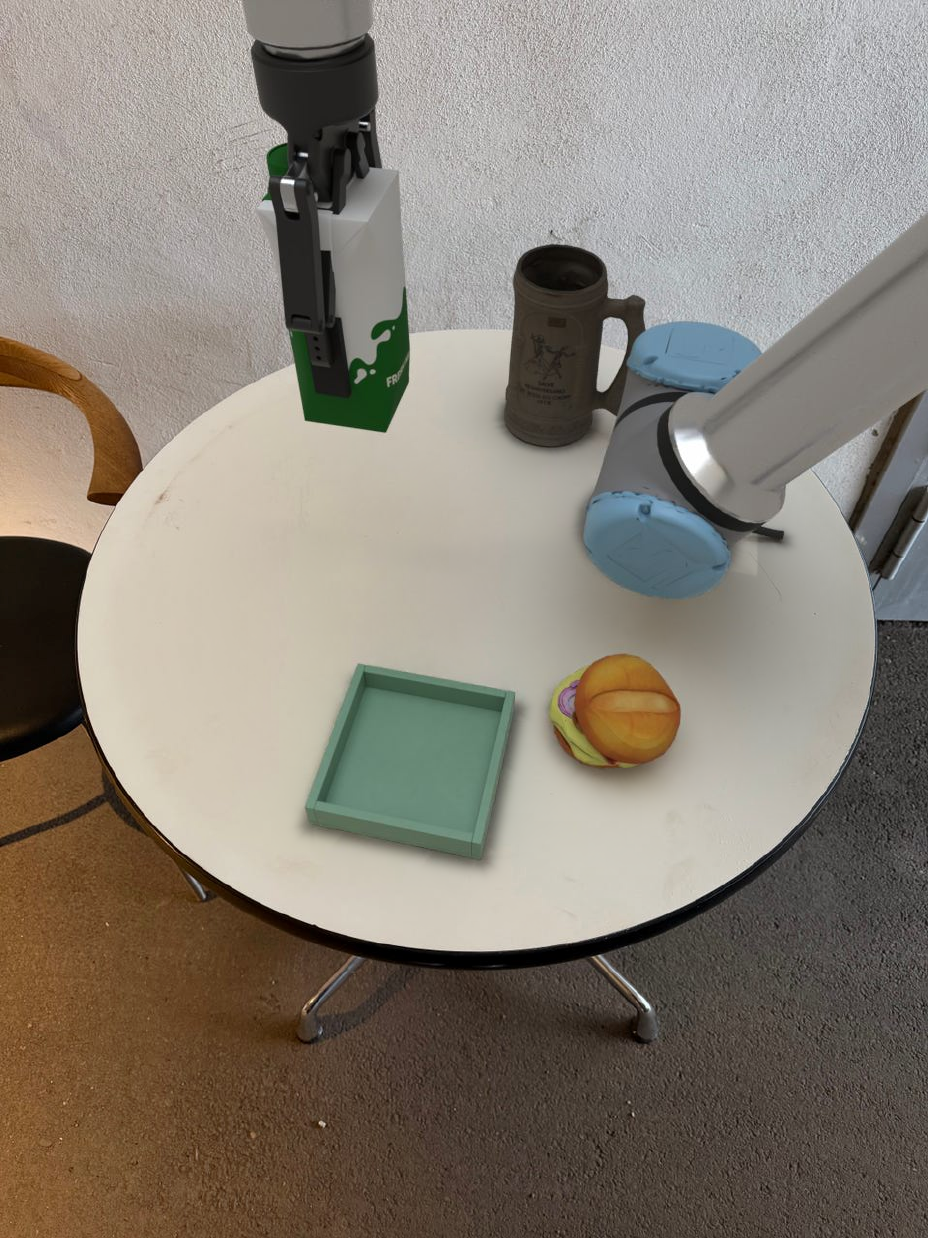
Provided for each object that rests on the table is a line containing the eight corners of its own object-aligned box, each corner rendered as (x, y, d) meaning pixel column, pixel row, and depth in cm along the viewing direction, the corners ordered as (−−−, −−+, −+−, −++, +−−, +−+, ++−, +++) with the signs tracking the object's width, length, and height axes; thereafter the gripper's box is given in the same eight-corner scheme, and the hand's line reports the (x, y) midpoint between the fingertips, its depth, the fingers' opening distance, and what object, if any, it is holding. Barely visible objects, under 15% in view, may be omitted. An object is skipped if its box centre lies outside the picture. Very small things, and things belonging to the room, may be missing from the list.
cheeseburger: (601, 657, 81) (636, 608, 73) (677, 745, 78) (722, 705, 70) (521, 713, 77) (547, 669, 69) (597, 809, 74) (635, 774, 66)
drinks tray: (514, 710, 78) (515, 691, 76) (481, 860, 69) (481, 844, 67) (361, 681, 80) (357, 662, 78) (309, 824, 71) (304, 807, 69)
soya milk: (325, 364, 76) (286, 122, 60) (423, 378, 75) (409, 134, 59) (290, 427, 71) (237, 180, 55) (395, 442, 69) (371, 194, 54)
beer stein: (489, 439, 101) (505, 285, 85) (506, 384, 108) (524, 231, 92) (617, 464, 100) (659, 312, 84) (627, 407, 106) (667, 256, 90)
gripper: (316, -25, 59) (353, 281, 76) (173, 101, 46) (257, 434, 63) (421, -18, 57) (434, 292, 75) (304, 114, 44) (353, 450, 62)
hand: (353, 357), depth 69 cm, fingers closed on soya milk, 9 cm apart
